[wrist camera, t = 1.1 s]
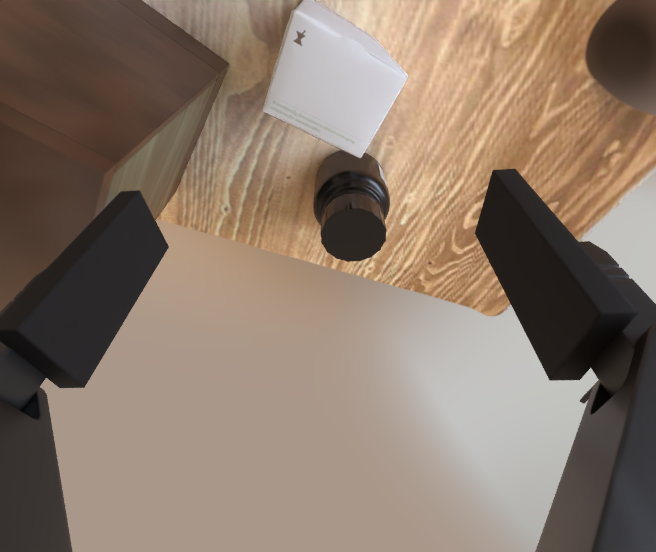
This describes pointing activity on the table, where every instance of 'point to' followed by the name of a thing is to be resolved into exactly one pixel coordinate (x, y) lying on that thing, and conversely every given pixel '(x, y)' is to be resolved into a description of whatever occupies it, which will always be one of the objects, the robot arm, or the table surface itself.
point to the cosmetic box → (332, 79)
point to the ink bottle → (351, 206)
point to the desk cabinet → (90, 119)
